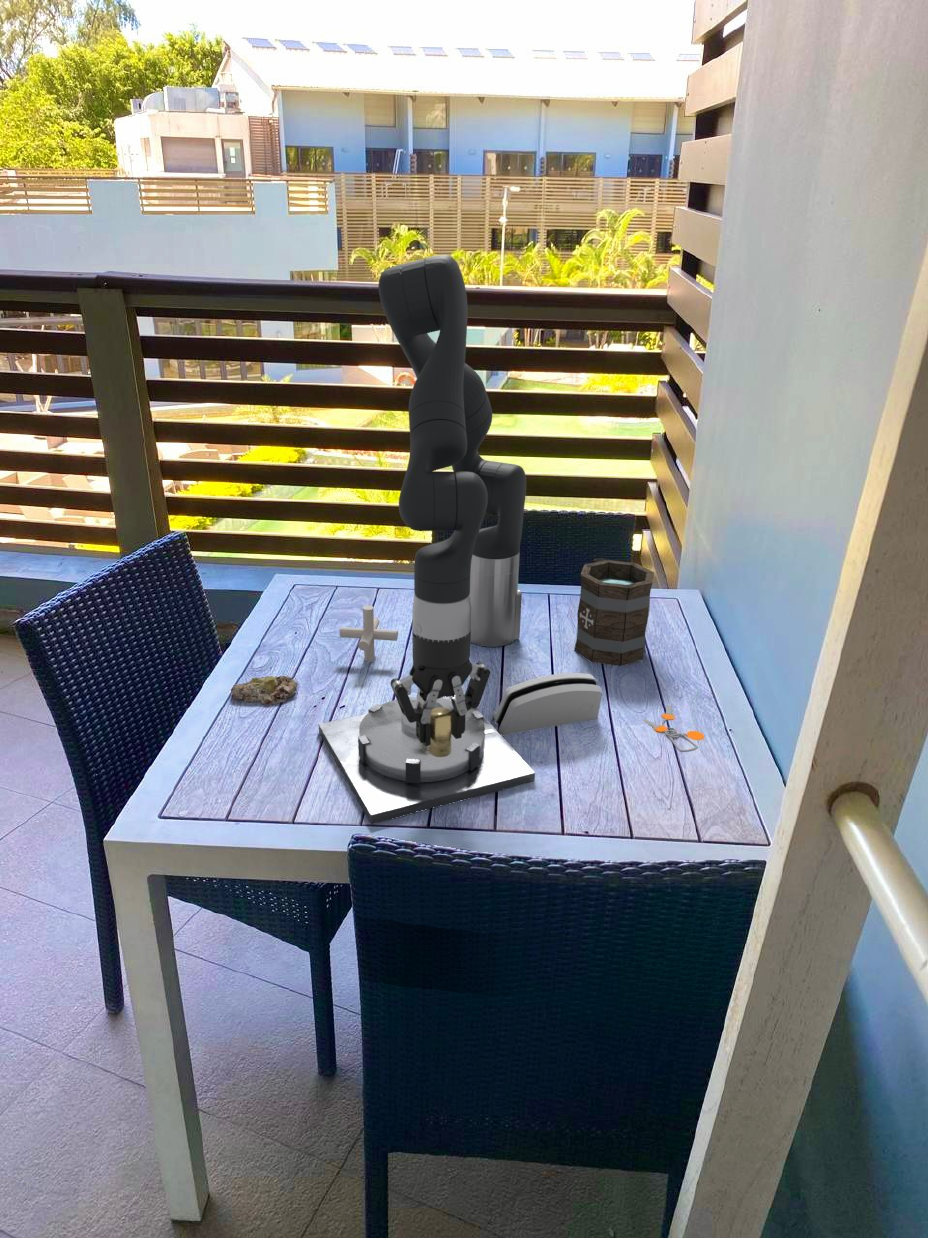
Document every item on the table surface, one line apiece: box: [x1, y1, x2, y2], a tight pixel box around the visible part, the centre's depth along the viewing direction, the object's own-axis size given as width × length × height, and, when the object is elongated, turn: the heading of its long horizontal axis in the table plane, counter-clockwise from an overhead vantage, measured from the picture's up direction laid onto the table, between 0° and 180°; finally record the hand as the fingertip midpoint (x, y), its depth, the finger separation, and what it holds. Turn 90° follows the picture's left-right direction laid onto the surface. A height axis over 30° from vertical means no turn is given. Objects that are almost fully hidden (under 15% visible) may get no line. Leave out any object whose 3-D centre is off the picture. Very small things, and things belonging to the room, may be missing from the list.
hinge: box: [490, 672, 603, 736], centre depth 133 cm, size 17×5×10 cm, turn 110°
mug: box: [573, 557, 655, 667], centre depth 159 cm, size 20×14×15 cm
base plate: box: [318, 696, 536, 825], centre depth 125 cm, size 24×24×2 cm
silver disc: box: [358, 696, 485, 784], centre depth 123 cm, size 18×19×9 cm
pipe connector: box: [339, 605, 399, 662], centre depth 151 cm, size 10×10×10 cm
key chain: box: [642, 705, 705, 753], centre depth 134 cm, size 13×7×1 cm, turn 19°
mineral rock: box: [230, 674, 299, 706], centre depth 141 cm, size 11×4×8 cm
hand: (440, 738), depth 118 cm, fingers open, 4 cm apart
